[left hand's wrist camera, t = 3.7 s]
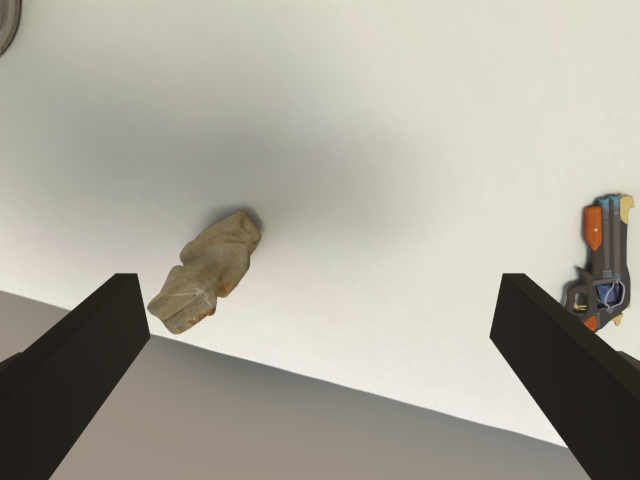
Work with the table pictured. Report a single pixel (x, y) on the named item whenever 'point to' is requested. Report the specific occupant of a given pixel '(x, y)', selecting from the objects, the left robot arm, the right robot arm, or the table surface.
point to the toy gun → (604, 264)
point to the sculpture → (206, 272)
